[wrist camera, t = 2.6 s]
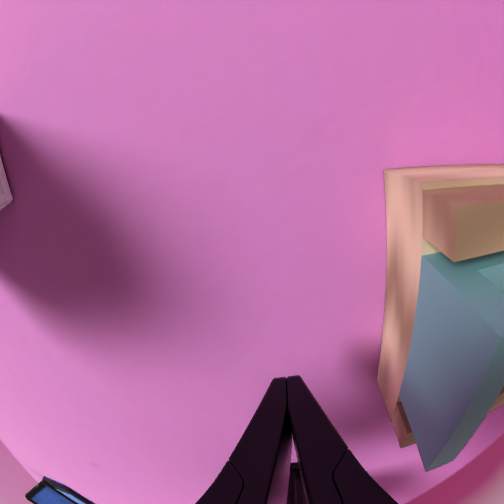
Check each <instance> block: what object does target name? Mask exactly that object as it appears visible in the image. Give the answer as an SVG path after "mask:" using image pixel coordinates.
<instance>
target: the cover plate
mask: <svg viewBox="0 0 504 504" xmlns="http://www.w3.org/2000/svg"><path fill="white" fill-rule="evenodd" d="M503 386H504V251H500V252H496V253H491V254H487V255H483V256H479V257H475V258H470V259H466V260H462V261H457V262H453V261H452V260H451V259H449V258H448V257H447V256H446V255H444V254H443V253H442V252H438V253H433V254H428V255H422V256H421V269H420V280H419V290H418V298H417V306H416V313H415V320H414V326H413V332H412V338H411V343H410V348H409V353H408V358H407V363H406V367H405V372H404V376H403V380H402V384H401V388H400V392H399V398H400V400H401V403H402V405H403V408H404V411H405V413H406V416H407V419H408V422H409V424H410V427H411V430H412V433H413V435H414V438H415V441H416V444H417V447H418V450H419V453H420V456H421V459H422V462H423V465H424V469H425V472H427V471H430V470H432V469H435V468H437V467H440V466H442V465H444V464H447V463H449V462H451V461H453V460H454V459H455V458H456V457H457V455H458V454H459V453H460V452H461V450H462V449H463V448H464V446H465V445H466V444H467V442H468V441H469V440H470V438H471V437H472V436H473V434H474V433H475V431H476V430H477V428H478V427H479V426H480V424H481V423H482V421H483V420H484V418H485V416H486V415H487V413H488V412H489V410H490V409H491V407H492V405H493V404H494V402H495V400H496V399H497V397H498V395H499V393H500V392H501V390H502V388H503Z"/></svg>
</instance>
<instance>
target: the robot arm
mask: <svg viewBox="0 0 504 504" xmlns="http://www.w3.org/2000/svg"><path fill="white" fill-rule="evenodd" d="M292 435H293V441H294V446H295V450H296V455H297V459H298V464H293V465H290V463H291V451H292ZM195 504H398V503H397V502H396V501H395V500H394V499H393V498H392V497H391V496H390V495H389V494H388V493H387V492H386V491H385V490H383V489H382V488H381V487H380V486H379V485H378V484H377V483H376V482H375V481H374V480H373V478H372V477H371V476H370V475H369V474H368V473H367V472H366V471H365V470H364V468H363V467H362V466H361V464H360V463H359V462H358V460H357V459H356V458H355V456H354V455H353V454H352V452H351V451H350V450H349V449H348V447H347V445H346V444H345V442H344V441H343V439H342V438H341V436H340V435H339V433H338V432H337V430H336V429H335V428H334V426H333V425H332V423H331V422H330V420H329V419H328V417H327V416H326V414H325V413H324V411H323V410H322V408H321V407H320V405H319V404H318V402H317V401H316V399H315V398H314V396H313V395H312V393H311V392H310V390H309V389H308V387H307V386H306V384H305V383H304V381H303V380H302V378H301V377H300V376H299V375H296V376H289V377H287V378H286V377H280V378H274V379H273V380H272V382H271V384H270V386H269V388H268V389H267V391H266V393H265V395H264V397H263V399H262V401H261V403H260V405H259V406H258V408H257V410H256V412H255V414H254V416H253V417H252V419H251V421H250V423H249V425H248V426H247V428H246V430H245V432H244V434H243V435H242V437H241V439H240V440H239V442H238V444H237V446H236V447H235V449H234V451H233V452H232V454H231V456H230V457H229V461H227V462H226V464H225V466H224V467H223V469H222V470H221V472H220V473H219V475H218V476H217V478H216V479H215V481H214V482H213V483H212V485H211V486H210V487H209V488H208V490H207V491H206V492H205V493H204V494H203V496H202V497H201V498H200V499H199V500H198V501H197V502H196V503H195Z"/></svg>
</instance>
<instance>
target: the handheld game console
mask: <svg viewBox="0 0 504 504" xmlns="http://www.w3.org/2000/svg"><path fill="white" fill-rule="evenodd" d="M25 497H26V498H27V500H29V501H30V502H32V503H34V504H94V503H92V502H91V501H89V500H87V499H86V498H84V497H83V496H81V495H79V494H78V493H76V492H75V491H73V490H72V489H70V488H69V487H67V486H65V485H63V484H61V483H58V482H56V481H54V480H51V479H49V478H47V477H45V476H44V477H43V479H42V481H41V482H40V483H38V484H37V485H36V486H35V487H34V488H32V489H31V490H30V491H29V492H28V493H27V494H26V495H25Z"/></svg>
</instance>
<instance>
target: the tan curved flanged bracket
mask: <svg viewBox="0 0 504 504" xmlns="http://www.w3.org/2000/svg"><path fill="white" fill-rule="evenodd" d="M384 182H385V198H386V220H387V274H386V296H385V311H384V324H383V334H382V343H381V352H380V360H379V367H378V374H377V383H378V385H379V388H380V391H381V394H382V397H383V400H384V403H385V406H386V408H387V411H388V415H389V418H390V421H392V423H393V426H394V429H395V432H396V435H397V438H398V442H399V445H400V448H403V447H406V446H409V445H412V444H415V443H416V441H415V438H414V435H413V433H412V430H411V427H410V424H409V422H408V419H407V416H406V413H405V411H404V408H403V405H402V403H401V400H400V398H399V392H400V388H401V384H402V380H403V376H404V372H405V367H406V363H407V358H408V353H409V348H410V343H411V338H412V332H413V326H414V320H415V313H416V306H417V298H418V290H419V280H420V269H421V256H422V255H428V254H433V253H438V252H442V253H443V254H444V255H446V256H447V257H448V258H449V259H451V260H452V261H453V262H457V261H462V260H466V259H470V258H475V257H479V256H483V255H487V254H491V253H496V252H500V251H504V164H470V165H443V166H424V167H409V168H396V169H384ZM503 404H504V386H503V388H502V390H501V392H500V393H499V395H498V397H497V399H496V400H495V402H494V404H493V405H492V407H491V409H490V410H489V412H490V411H492V410H494V409H496V408H498V407H500V406H501V405H503Z"/></svg>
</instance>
